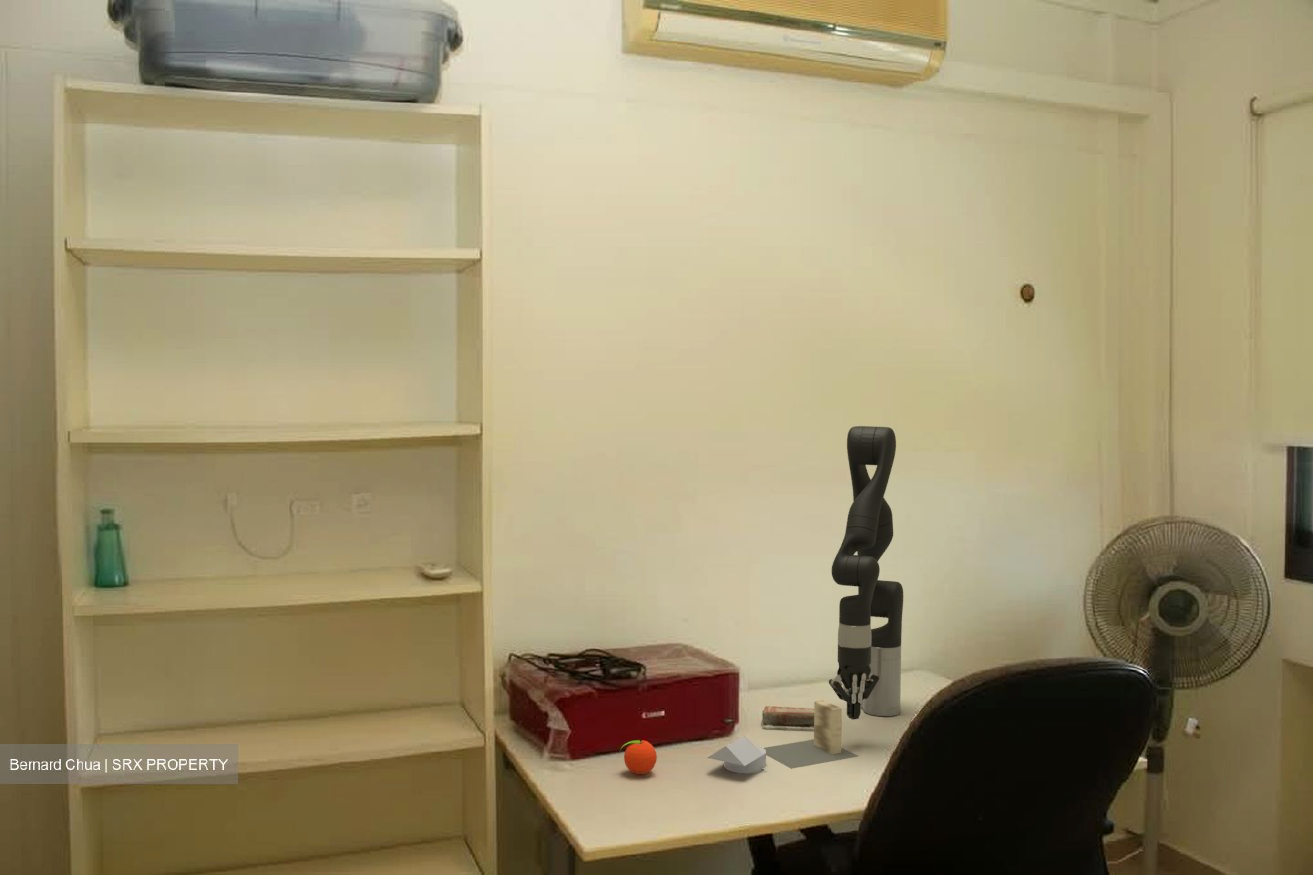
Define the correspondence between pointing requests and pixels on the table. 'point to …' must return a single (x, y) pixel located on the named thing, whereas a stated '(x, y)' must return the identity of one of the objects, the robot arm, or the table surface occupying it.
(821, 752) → the mat
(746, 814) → the table surface
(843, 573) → the robot arm
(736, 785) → the table surface
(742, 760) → the wedge on round base
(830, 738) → the birch tile
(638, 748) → the clementine
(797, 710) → the packaged product
